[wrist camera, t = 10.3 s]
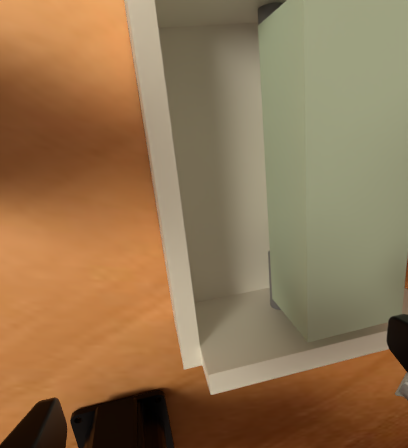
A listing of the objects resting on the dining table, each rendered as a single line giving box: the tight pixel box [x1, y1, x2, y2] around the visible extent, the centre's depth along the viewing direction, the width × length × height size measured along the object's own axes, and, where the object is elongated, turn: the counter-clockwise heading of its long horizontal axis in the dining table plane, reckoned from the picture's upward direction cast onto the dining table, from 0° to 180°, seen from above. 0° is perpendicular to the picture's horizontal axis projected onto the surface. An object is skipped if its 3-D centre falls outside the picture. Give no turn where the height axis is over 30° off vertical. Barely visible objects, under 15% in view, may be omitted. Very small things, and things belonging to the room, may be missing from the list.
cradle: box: [124, 0, 408, 395], centre depth 16 cm, size 18×14×7 cm
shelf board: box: [258, 0, 408, 342], centre depth 14 cm, size 14×5×4 cm, turn 7°
